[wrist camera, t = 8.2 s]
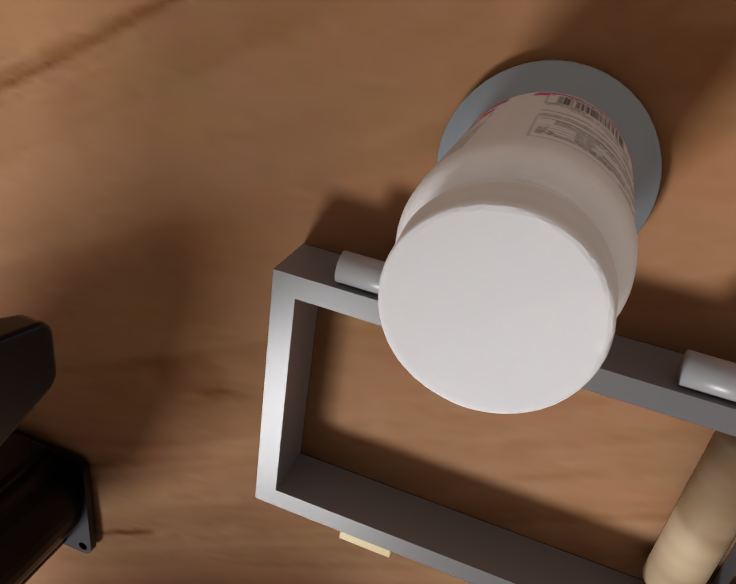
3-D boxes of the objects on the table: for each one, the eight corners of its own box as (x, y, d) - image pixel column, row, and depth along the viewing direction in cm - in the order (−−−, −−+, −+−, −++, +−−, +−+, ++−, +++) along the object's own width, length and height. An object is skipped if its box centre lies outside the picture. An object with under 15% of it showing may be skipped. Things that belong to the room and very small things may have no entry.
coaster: (617, 294, 19) (617, 299, 19) (423, 240, 20) (419, 244, 20) (697, 85, 16) (699, 87, 16) (463, 39, 17) (460, 40, 17)
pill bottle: (478, 269, 20) (396, 440, 13) (436, 116, 18) (315, 210, 11) (647, 242, 18) (663, 427, 11) (616, 66, 16) (611, 143, 9)
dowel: (635, 556, 23) (685, 563, 23) (651, 602, 21) (705, 609, 21) (707, 416, 20) (765, 425, 20) (734, 459, 18) (796, 468, 18)
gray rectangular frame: (707, 634, 23) (714, 692, 21) (279, 471, 27) (254, 508, 25) (877, 376, 17) (908, 424, 16) (306, 216, 21) (275, 239, 19)
